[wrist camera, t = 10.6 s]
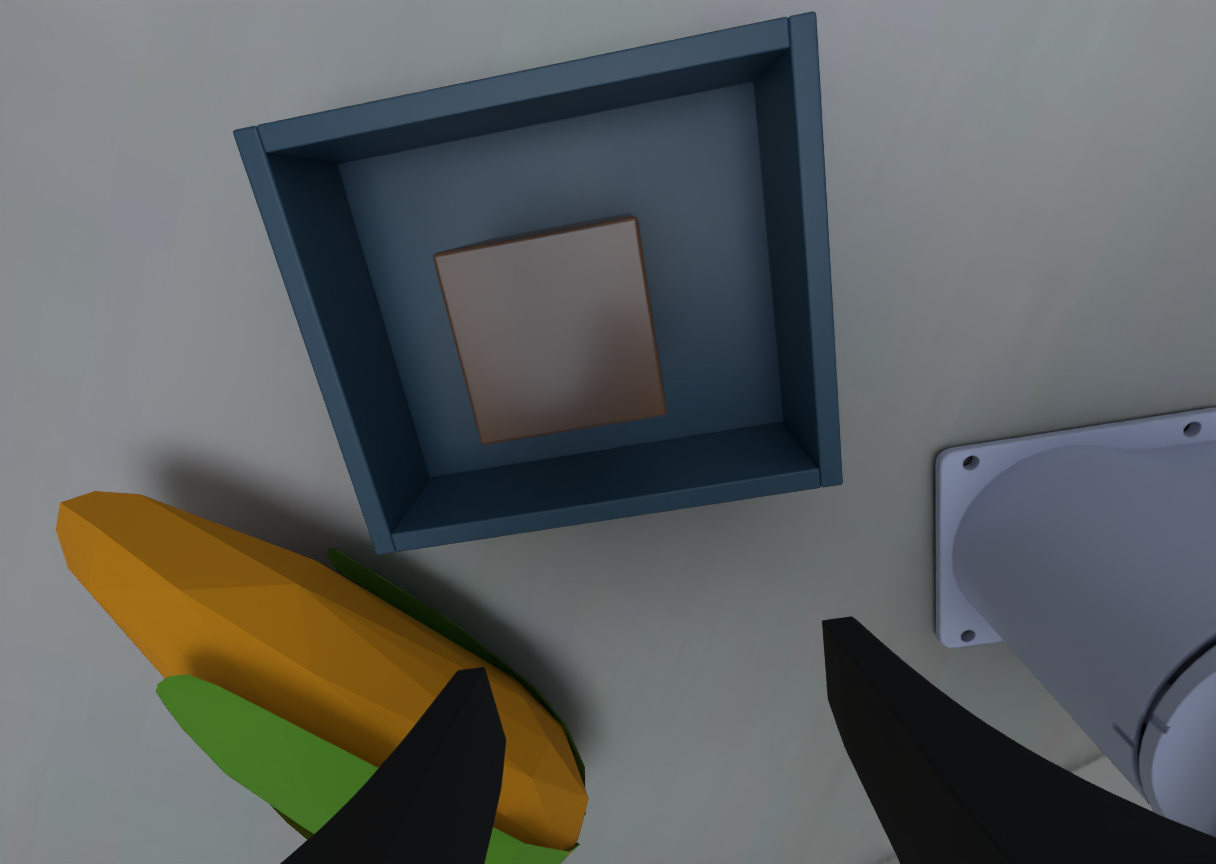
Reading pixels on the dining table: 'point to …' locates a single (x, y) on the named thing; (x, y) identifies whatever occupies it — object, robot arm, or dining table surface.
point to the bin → (555, 196)
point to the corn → (308, 667)
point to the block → (554, 329)
